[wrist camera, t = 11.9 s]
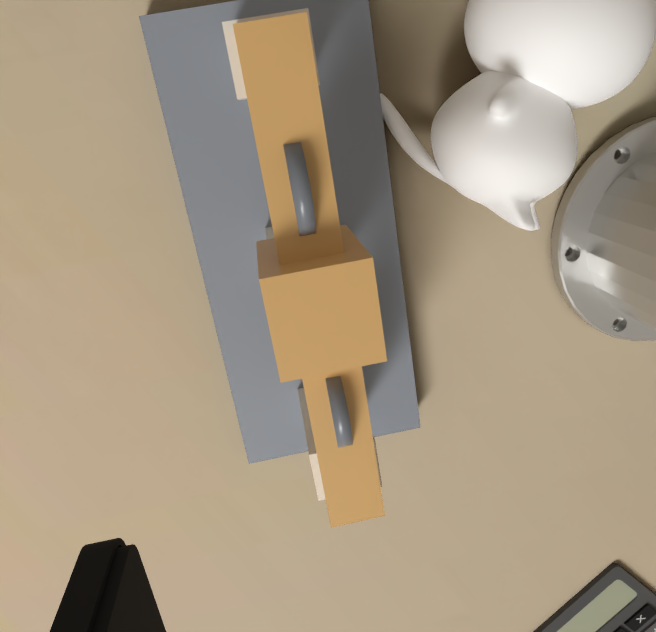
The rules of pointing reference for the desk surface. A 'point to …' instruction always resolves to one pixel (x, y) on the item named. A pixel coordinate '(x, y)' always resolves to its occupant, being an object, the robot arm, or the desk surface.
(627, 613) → the calculator
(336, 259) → the tan bar with handles
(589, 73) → the cat figurine
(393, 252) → the display stand
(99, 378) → the desk surface
